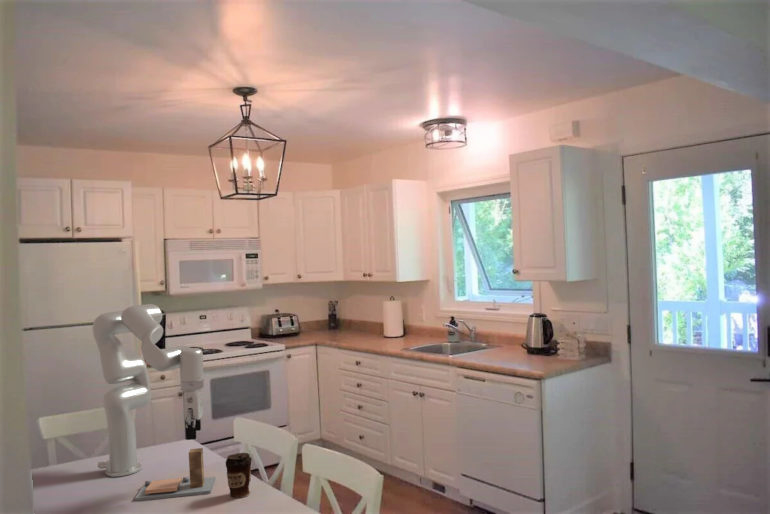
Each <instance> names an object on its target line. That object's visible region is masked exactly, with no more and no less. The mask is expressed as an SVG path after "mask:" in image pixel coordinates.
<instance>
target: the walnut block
mask: <svg viewBox="0 0 770 514" xmlns="http://www.w3.org/2000/svg"><path fill="white" fill-rule="evenodd" d="M203 450H204V448H203V447H201V448H200V447H199V448H190V450H189V452H188V464H189V465H188V467H189V479H190V488H197V487H203V485H204V478H205V471H204V470H205V468H204V467H205V465H204V453H203V452H204V451H203Z"/></svg>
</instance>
